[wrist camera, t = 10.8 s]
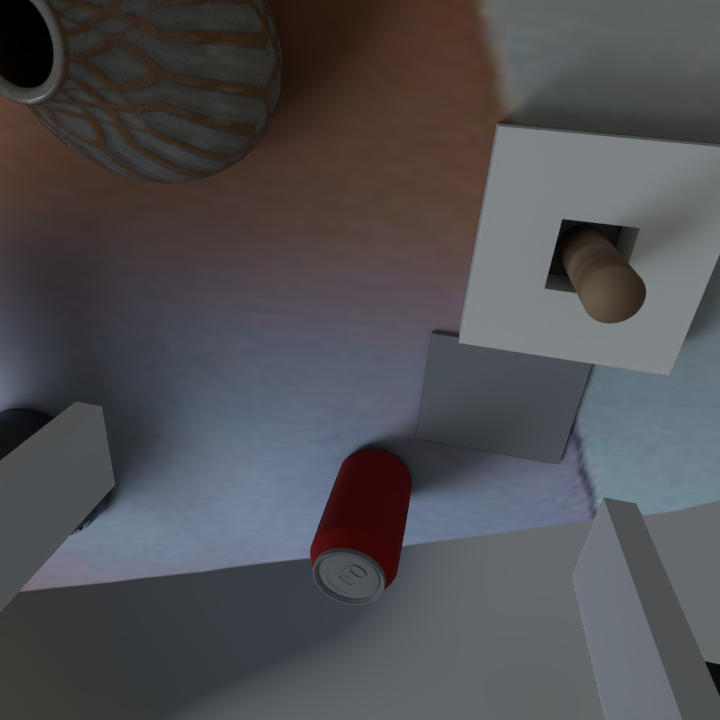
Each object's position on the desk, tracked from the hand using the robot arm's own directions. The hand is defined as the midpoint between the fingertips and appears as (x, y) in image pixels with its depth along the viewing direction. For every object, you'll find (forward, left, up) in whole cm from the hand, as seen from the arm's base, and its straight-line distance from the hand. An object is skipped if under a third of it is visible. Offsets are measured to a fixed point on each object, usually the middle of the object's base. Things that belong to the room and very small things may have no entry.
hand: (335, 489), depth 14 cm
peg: (+10, +1, -27) cm, 29 cm away
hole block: (+10, +1, -27) cm, 29 cm away
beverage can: (-2, -22, -27) cm, 35 cm away
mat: (+7, -12, -27) cm, 30 cm away
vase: (-16, +10, -27) cm, 33 cm away
